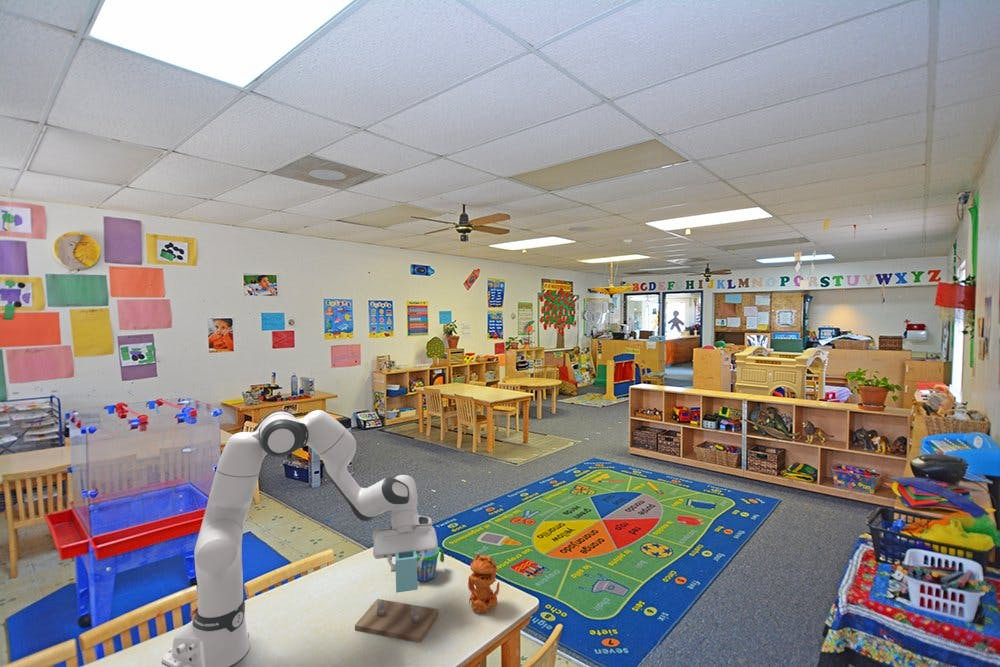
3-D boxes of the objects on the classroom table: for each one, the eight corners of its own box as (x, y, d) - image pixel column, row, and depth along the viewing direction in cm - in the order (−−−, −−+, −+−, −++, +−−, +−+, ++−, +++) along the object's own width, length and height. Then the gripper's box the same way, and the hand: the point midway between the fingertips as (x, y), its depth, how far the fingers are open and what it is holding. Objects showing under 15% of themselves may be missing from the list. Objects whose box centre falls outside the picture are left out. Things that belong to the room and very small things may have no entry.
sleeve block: (396, 592, 141) (395, 560, 140) (396, 580, 147) (395, 550, 146) (417, 589, 142) (416, 557, 142) (416, 578, 148) (415, 547, 148)
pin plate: (354, 629, 143) (354, 612, 143) (377, 603, 156) (377, 587, 156) (420, 642, 137) (420, 624, 137) (438, 613, 151) (438, 597, 151)
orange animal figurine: (460, 613, 151) (460, 559, 151) (474, 594, 162) (474, 544, 161) (491, 621, 147) (492, 566, 147) (504, 602, 157) (504, 550, 157)
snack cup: (437, 564, 181) (437, 538, 181) (450, 577, 172) (450, 550, 172) (399, 576, 173) (399, 549, 172) (410, 590, 164) (410, 562, 164)
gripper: (372, 524, 148) (371, 570, 139) (436, 517, 153) (439, 562, 144) (373, 531, 153) (372, 577, 144) (435, 525, 157) (438, 568, 148)
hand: (406, 569), depth 144 cm, fingers closed on sleeve block, 6 cm apart
